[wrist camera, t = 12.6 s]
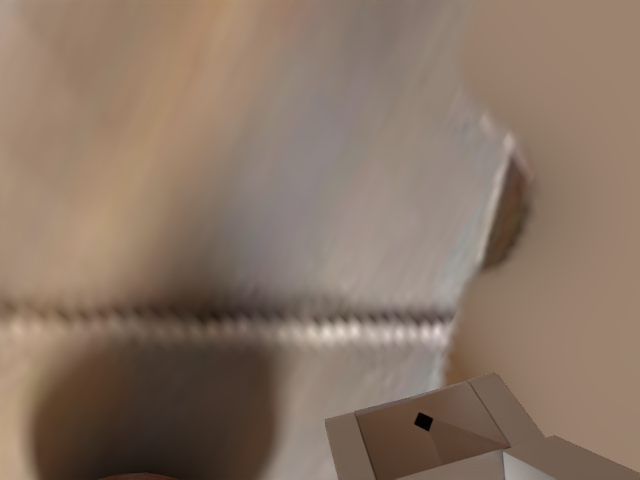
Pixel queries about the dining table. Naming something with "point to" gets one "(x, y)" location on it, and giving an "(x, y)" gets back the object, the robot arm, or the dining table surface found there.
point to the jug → (138, 477)
